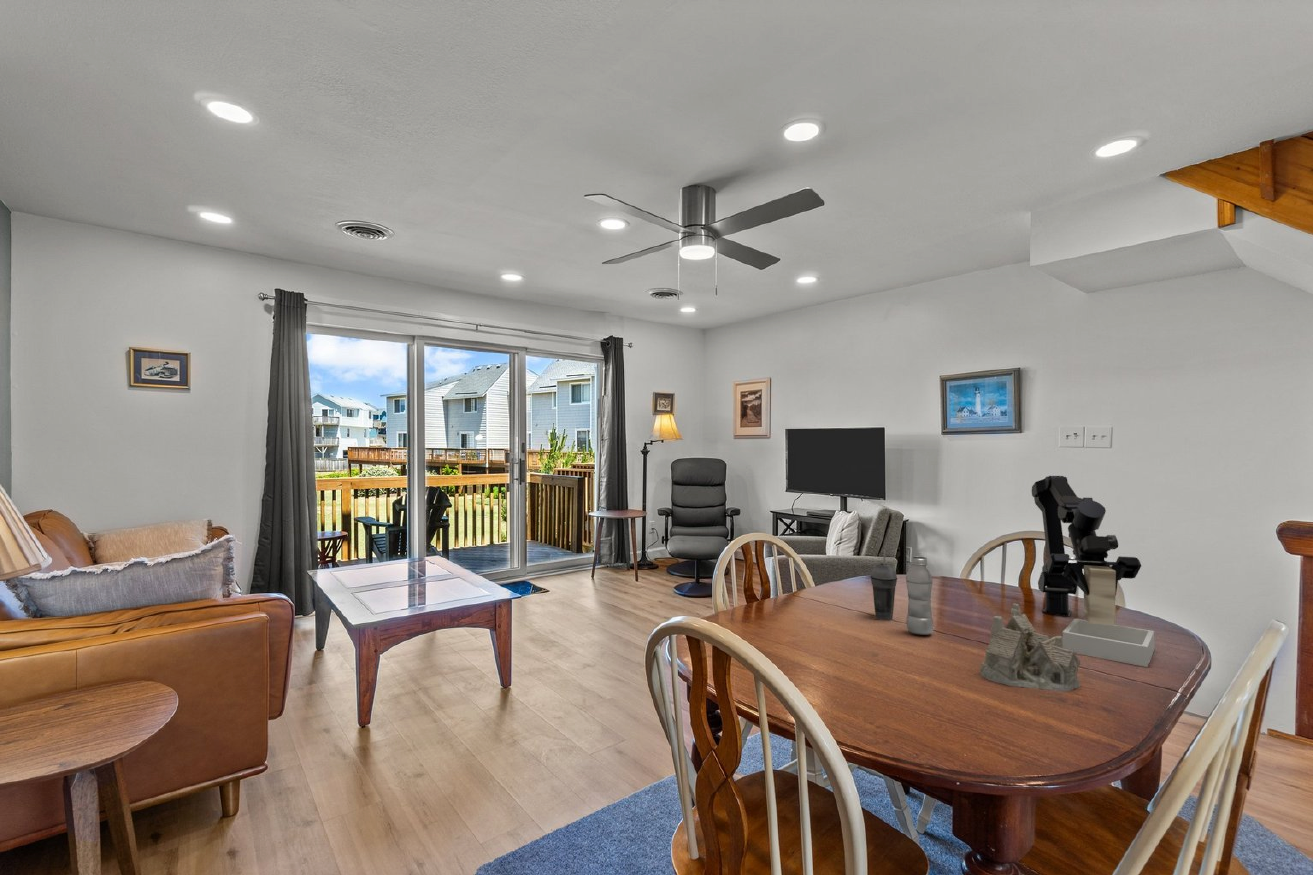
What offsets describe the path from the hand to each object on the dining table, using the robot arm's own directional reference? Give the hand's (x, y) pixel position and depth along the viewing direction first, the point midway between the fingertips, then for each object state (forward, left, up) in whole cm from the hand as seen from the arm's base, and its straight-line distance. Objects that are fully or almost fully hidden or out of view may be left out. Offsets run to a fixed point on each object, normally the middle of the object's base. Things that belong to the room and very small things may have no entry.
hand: (1101, 595), depth 147 cm
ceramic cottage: (+32, -9, -14) cm, 36 cm away
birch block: (-1, -1, -7) cm, 7 cm away
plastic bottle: (+16, -37, -14) cm, 42 cm away
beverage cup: (+8, -50, -14) cm, 52 cm away
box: (-2, +1, -13) cm, 14 cm away
